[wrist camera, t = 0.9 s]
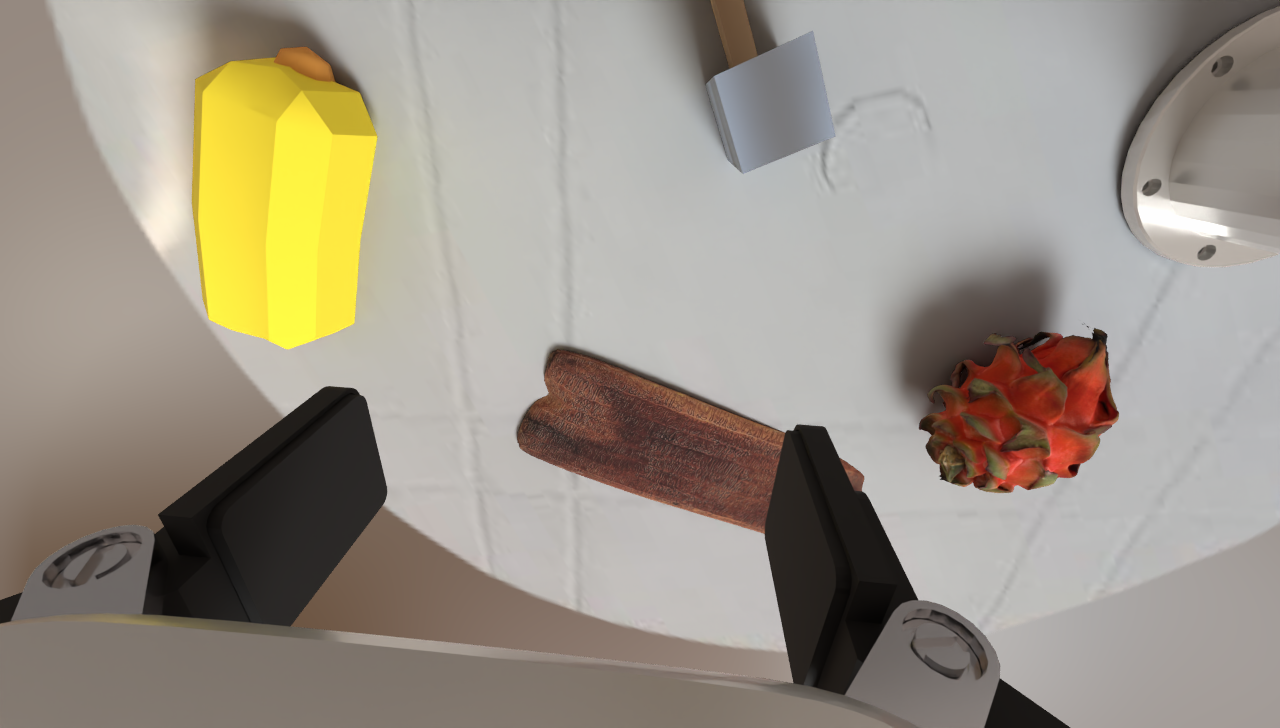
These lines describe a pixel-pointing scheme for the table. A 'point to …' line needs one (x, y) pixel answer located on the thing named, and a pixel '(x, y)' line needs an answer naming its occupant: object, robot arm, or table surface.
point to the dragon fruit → (1023, 413)
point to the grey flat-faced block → (766, 94)
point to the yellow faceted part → (280, 195)
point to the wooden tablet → (654, 441)
